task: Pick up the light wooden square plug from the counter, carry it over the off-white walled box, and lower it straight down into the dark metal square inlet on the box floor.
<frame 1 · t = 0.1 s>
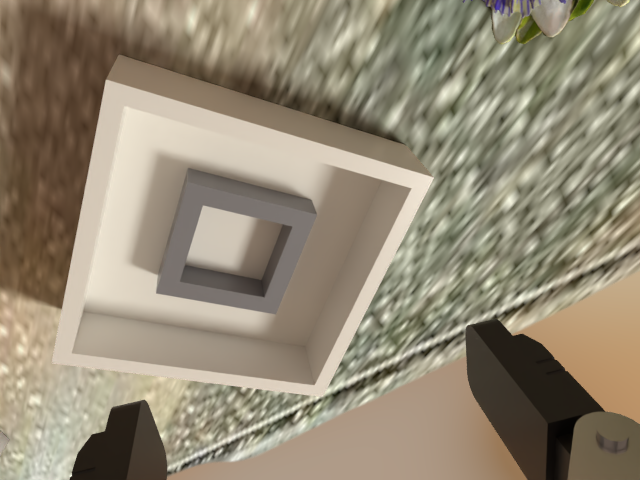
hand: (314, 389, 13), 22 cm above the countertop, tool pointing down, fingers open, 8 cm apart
box: (232, 230, 36), on the countertop
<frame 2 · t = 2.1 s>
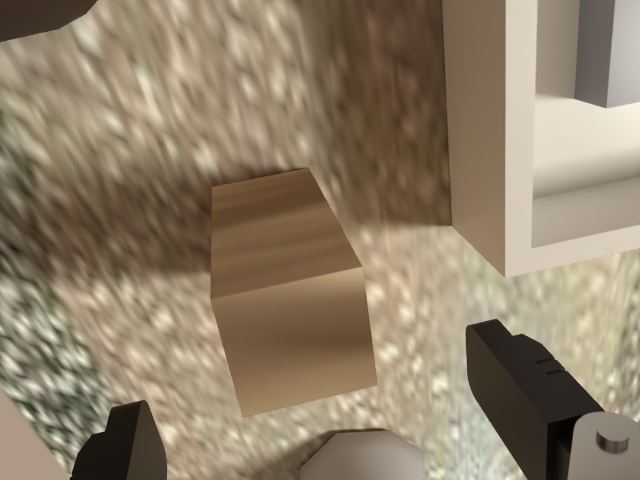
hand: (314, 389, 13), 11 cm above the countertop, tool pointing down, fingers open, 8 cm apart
flask: (357, 472, 30), on the countertop
plug: (269, 221, 23), on the countertop
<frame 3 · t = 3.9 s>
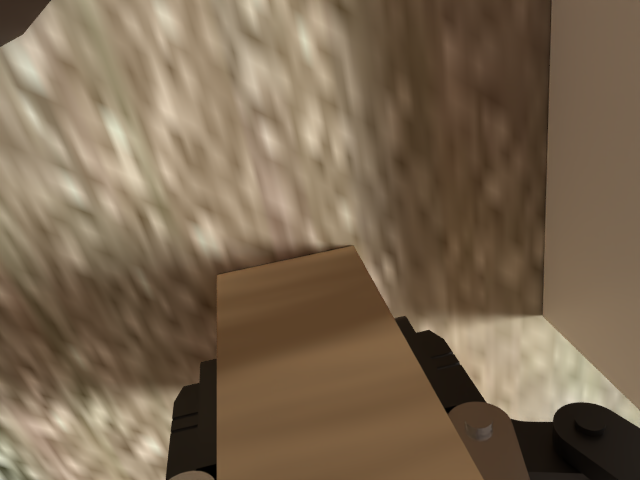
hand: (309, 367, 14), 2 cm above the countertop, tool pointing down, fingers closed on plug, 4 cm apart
plug: (297, 318, 16), on the countertop, touching gripper
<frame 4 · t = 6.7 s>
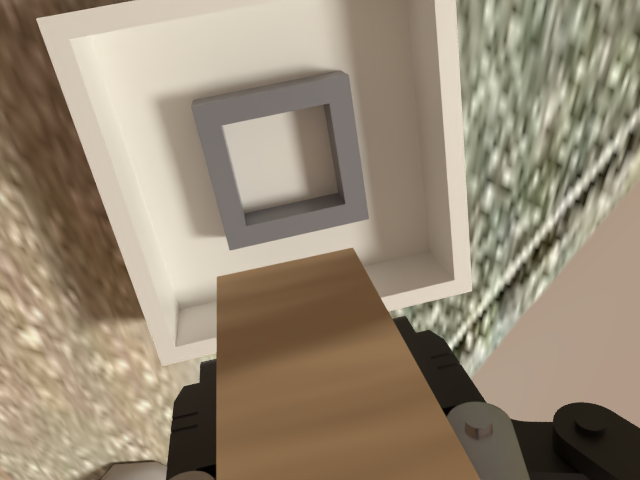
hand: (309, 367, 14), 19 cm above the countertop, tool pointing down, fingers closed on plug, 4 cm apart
box: (280, 152, 31), on the countertop
plug: (297, 319, 16), point 17 cm above the countertop, touching gripper
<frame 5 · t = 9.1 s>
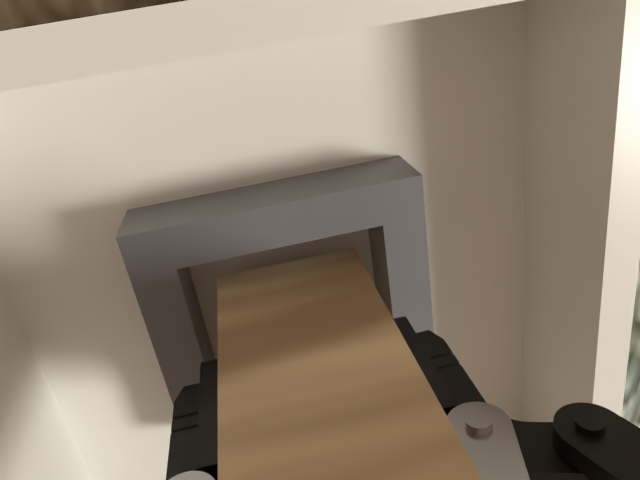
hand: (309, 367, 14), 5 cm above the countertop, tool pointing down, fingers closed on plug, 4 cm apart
box: (286, 284, 18), on the countertop
plug: (297, 319, 16), point 2 cm above the countertop, touching gripper
when the fingers open (4 cm above the countertop, at t = 9.7 s): plug stays where it is, resting on box.
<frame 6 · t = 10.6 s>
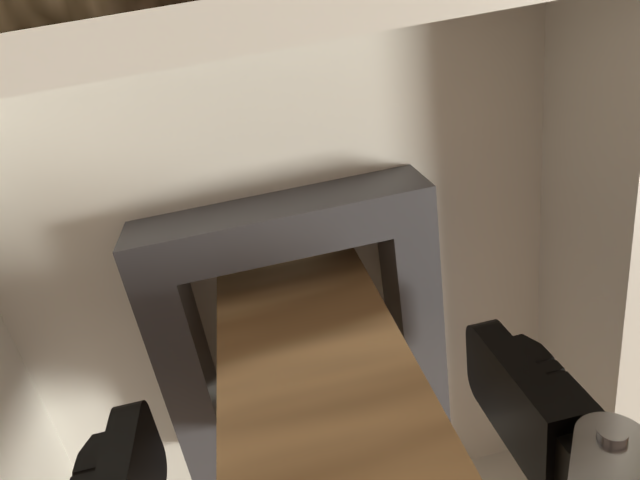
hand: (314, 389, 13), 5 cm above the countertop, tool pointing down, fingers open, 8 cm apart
box: (291, 297, 18), on the countertop
plug: (296, 314, 17), point 1 cm above the countertop, touching box
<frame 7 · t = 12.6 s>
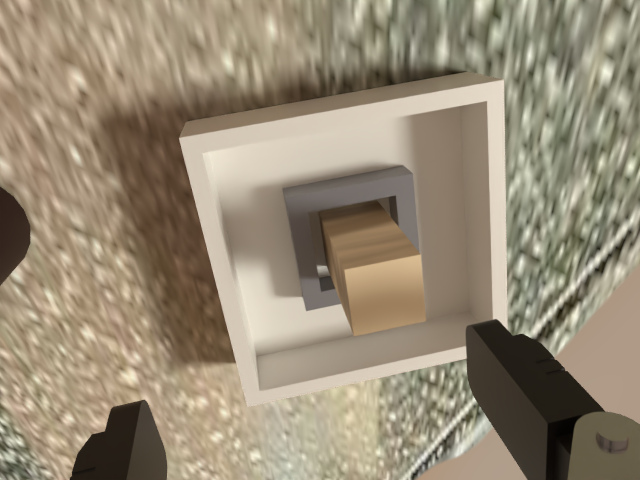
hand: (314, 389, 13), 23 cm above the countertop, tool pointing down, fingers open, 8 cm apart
box: (348, 228, 37), on the countertop
plug: (351, 233, 37), point 1 cm above the countertop, touching box
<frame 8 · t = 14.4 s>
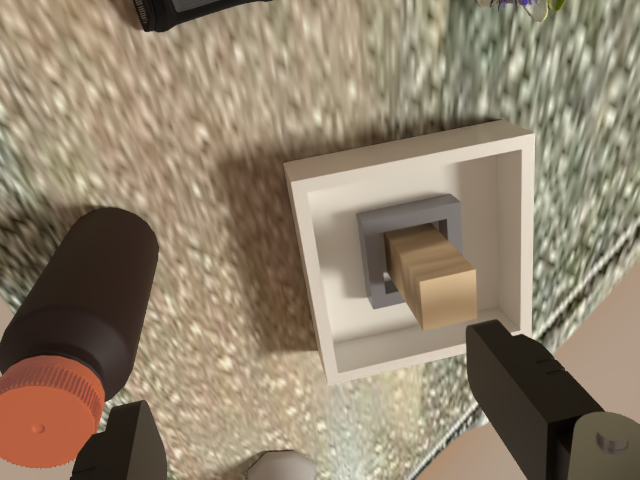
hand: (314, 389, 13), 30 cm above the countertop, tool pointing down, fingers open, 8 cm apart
flask: (280, 473, 55), on the countertop
box: (404, 242, 47), on the countertop
plug: (408, 247, 46), point 1 cm above the countertop, touching box
bottle: (114, 245, 43), on the countertop
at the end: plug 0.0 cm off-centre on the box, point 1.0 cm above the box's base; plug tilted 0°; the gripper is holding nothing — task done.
